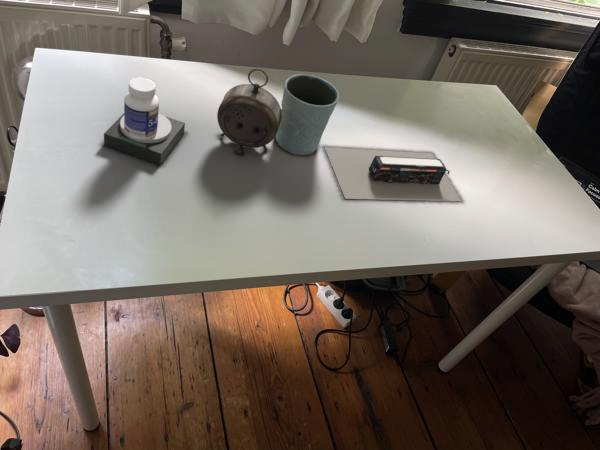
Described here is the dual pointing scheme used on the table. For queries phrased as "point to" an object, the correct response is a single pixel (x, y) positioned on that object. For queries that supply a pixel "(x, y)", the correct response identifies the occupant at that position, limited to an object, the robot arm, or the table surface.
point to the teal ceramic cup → (305, 112)
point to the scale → (147, 148)
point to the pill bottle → (141, 109)
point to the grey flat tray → (390, 175)
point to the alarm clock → (249, 115)
